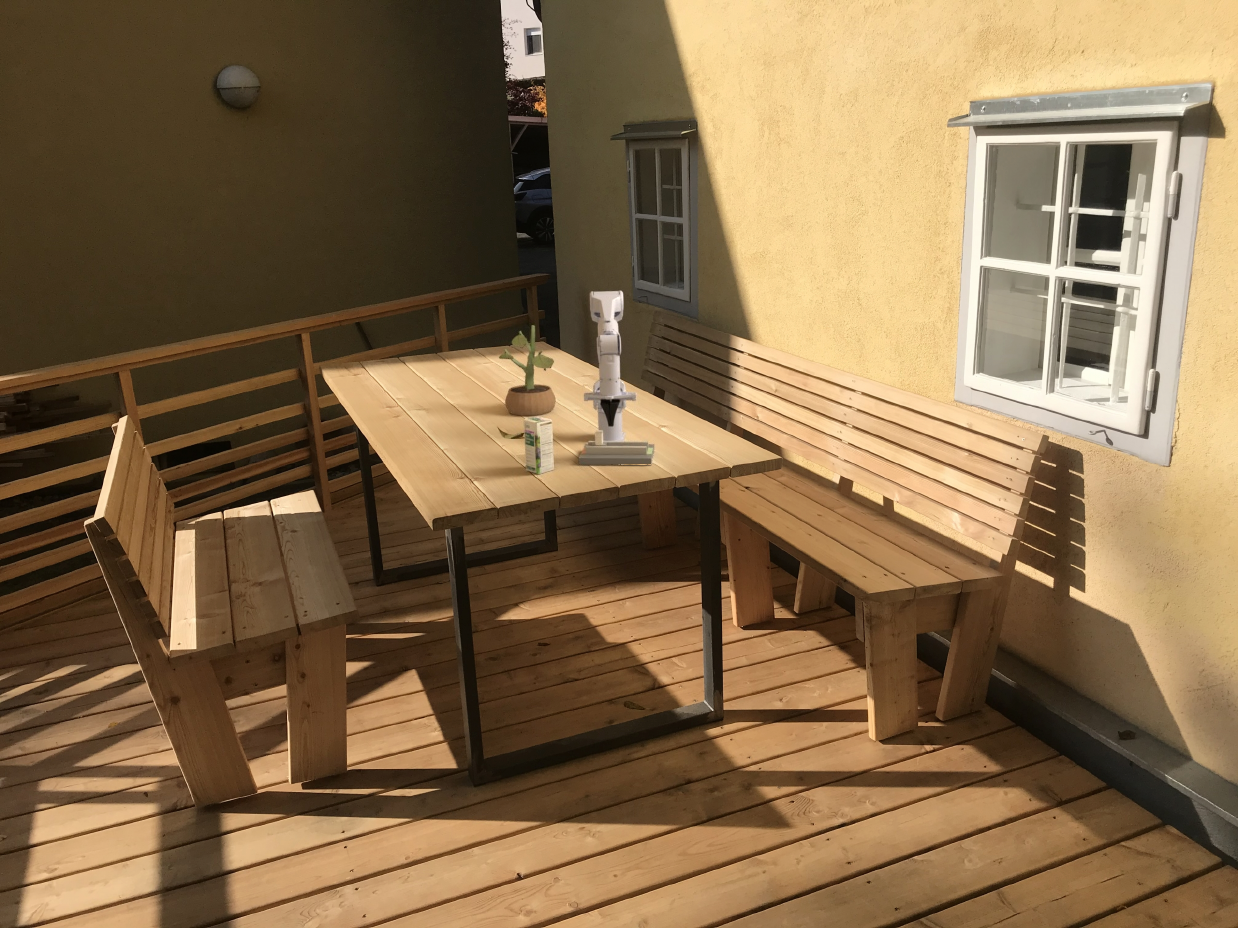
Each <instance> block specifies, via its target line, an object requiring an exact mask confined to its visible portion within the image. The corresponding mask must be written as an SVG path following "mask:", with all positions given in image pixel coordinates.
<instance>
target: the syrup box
mask: <svg viewBox="0 0 1238 928" xmlns="http://www.w3.org/2000/svg"><path fill="white" fill-rule="evenodd" d="M523 429H524V430H523V431H524V432H523V433H524V435H523V436H524V450H525V451H524V453H525V454H524V455H525V456H524V457H525V471H526V472H530V473H533V474H537V475H541V474H545V473H548V472H551V471H554V470H555V466H554V465H555V462H554V459H555V458H554V438H553V437H554V435H553V431H554V430H553V419H550V418H548V417H542V416H541V415H537V416H530V417H528V418H525V419H523Z"/></svg>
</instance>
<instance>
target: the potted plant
mask: <svg viewBox="0 0 1238 928" xmlns="http://www.w3.org/2000/svg"><path fill="white" fill-rule="evenodd" d="M530 333H531V334H530V343H529V341H528V338H527V337H525V335H524V334H523V333H522V330H519V331H518V334H517V335H516V336H515V337H514V338H513V339H512V340H511V344H512V346H513V347H518V348H521V349H523V348H524V346H526V347H527V349H528V350H529V351H528V355H527V362H526V365H525V364H524V363H522V362H520V361H519V360H517V359H516V358H515V357H514V356H513V355H512V354H511V353H510V352H509V351H508V350H507V348H505V349H504V350H503V351H504V353H502V354H501V355H499V356H498V359H500V360H510V361H511V362H513V364H515V365H516V366H517V367H518V368H520V369H522V371H523V372H524V373H525V377H524V384H520V385H514V386H511V387H510V388H509V389H508V391H507V395H506V396H505V402H504V403H505V407H506V409H507V411H508V412H509V413H510V414H512V415H514V416H521V417H537V416H542V415H547V414H549V413H551V412H552V411H553V410H554V408H555V407H556V406H555V405H556V402H557V401H556V395H555V394H554V392H553V389H552V387H551V386H549V385H546V384H539V383H538V384H536V383H535V379H534V377H535V369H534V368H535V367H537V368H538V369H543V371H545V372H546V371H547V369H552V366H553V364H554V363H555V360H554V359H553V358H551V357H548V356H546V355H544V354H542V353H543V351H544V349H541V350H540V351H539V352H538V354H537V355H536V343H535V342H536V326H535V325H531V329H530ZM535 355H536V356H535Z"/></svg>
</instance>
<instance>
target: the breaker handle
mask: <svg viewBox="0 0 1238 928" xmlns="http://www.w3.org/2000/svg"><path fill="white" fill-rule="evenodd" d="M594 441H595V442H593V443H592V446H607V442H603V430H598V429H596V430H595V433H594Z"/></svg>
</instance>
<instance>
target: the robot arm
mask: <svg viewBox="0 0 1238 928" xmlns="http://www.w3.org/2000/svg"><path fill="white" fill-rule="evenodd" d="M589 311H590V317H591V320H592V321H593V322H596V324H597V336H596V353H597V359H598V363H599V364H598V372H599V373H598V375H599V376H598V378H599V379H597V381H595V383H593V386H592V387H593V388H592V392H584V394H583V401H584V402H588V401H592V404H593V407H592V408H593V409H594V410H595V411H597V420H598V422H597V424H598V425H597V427H598V429H597V430H603V441H625V440H624V439H625V437H626V432H623V410H625V409H626V408H627V401H632V402H637V399H638V398H637V397H638V396H637V392H629V391H627V390H626V384H625V382H624V381H623V380H621V362H620V361H621V359H620V356H621V353H622V340H621V339H622V338H621V335H620V332H619V323H618V322H620V321H622V320H623V316H624V292H623V291H622V290H615V291H613V290H609V291H607V290H606V291H590V292H589Z"/></svg>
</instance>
